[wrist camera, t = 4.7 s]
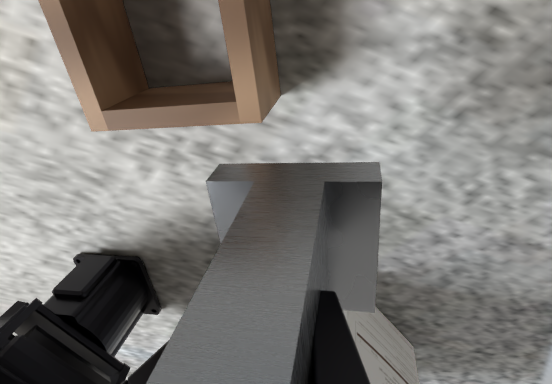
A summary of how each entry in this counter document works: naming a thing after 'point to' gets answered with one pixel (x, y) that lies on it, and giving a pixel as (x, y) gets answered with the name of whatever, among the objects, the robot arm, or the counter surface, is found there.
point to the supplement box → (382, 348)
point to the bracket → (276, 271)
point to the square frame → (164, 100)
